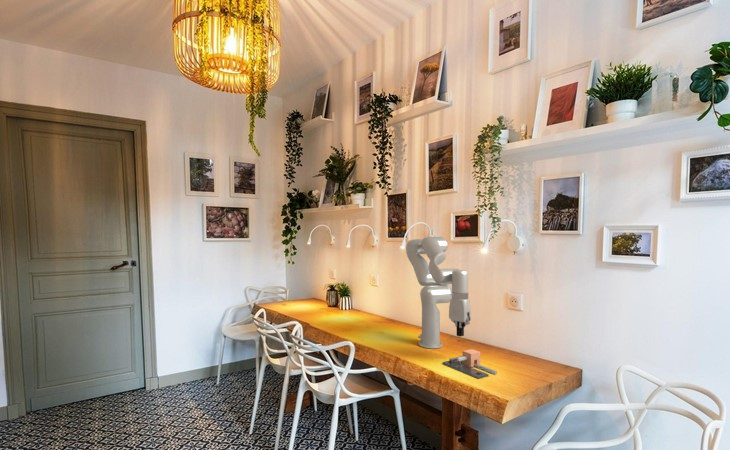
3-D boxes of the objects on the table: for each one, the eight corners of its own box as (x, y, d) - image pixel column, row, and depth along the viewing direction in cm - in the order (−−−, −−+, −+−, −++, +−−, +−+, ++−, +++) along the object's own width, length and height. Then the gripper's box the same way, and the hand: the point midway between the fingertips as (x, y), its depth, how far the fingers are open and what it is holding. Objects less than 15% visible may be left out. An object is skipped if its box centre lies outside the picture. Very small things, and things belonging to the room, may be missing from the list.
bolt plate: (442, 363, 172) (442, 361, 172) (452, 361, 175) (452, 359, 175) (478, 378, 154) (478, 376, 154) (488, 376, 157) (488, 374, 158)
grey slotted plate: (446, 362, 173) (446, 358, 174) (460, 359, 178) (460, 355, 178) (482, 377, 156) (482, 372, 156) (497, 374, 160) (497, 368, 160)
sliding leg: (453, 365, 169) (453, 352, 169) (471, 361, 175) (471, 349, 175) (462, 369, 165) (462, 355, 165) (480, 365, 171) (480, 352, 171)
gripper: (442, 295, 183) (443, 333, 182) (466, 298, 170) (466, 340, 169) (454, 294, 187) (454, 331, 186) (477, 297, 174) (478, 338, 173)
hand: (460, 335), depth 177 cm, fingers closed
